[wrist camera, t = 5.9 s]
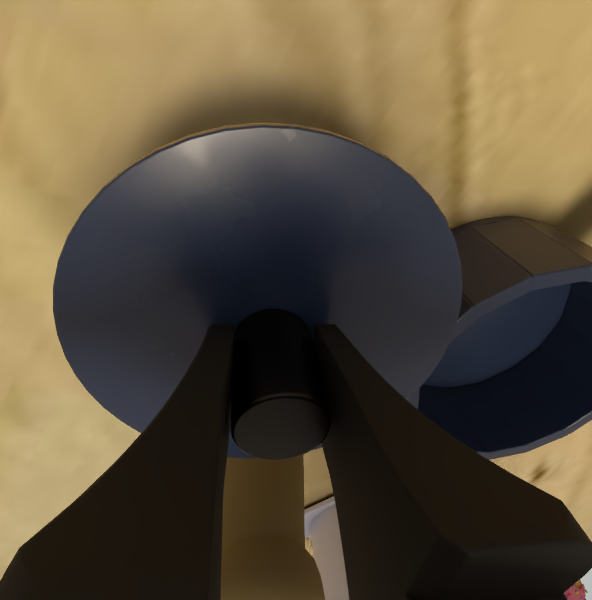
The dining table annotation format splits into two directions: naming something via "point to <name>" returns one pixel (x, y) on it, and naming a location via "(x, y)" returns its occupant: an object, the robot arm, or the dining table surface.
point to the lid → (255, 277)
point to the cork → (266, 532)
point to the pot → (516, 340)
